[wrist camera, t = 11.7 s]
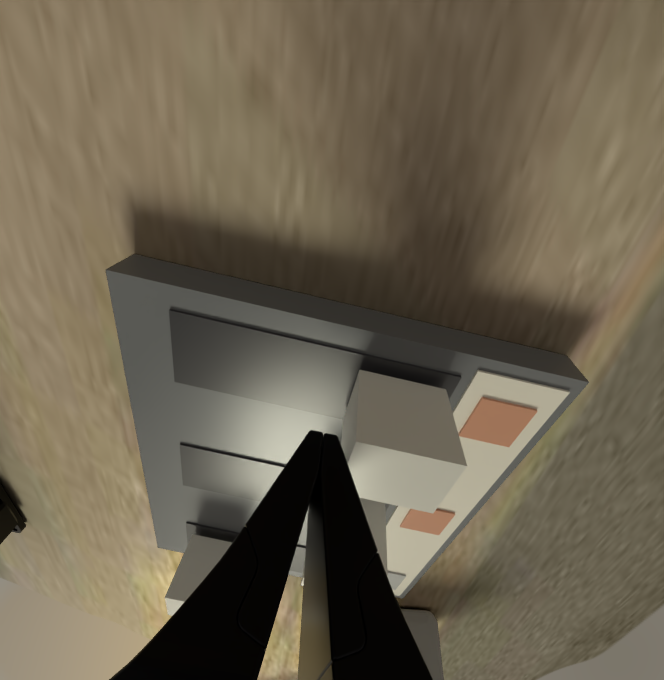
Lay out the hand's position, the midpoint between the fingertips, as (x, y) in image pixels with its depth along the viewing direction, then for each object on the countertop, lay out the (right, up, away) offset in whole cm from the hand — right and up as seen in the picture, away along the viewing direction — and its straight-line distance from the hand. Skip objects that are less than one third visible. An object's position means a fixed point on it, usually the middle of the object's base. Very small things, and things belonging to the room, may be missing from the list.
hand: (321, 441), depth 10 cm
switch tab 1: (-6, -9, +10) cm, 15 cm away
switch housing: (-1, -3, +7) cm, 8 cm away
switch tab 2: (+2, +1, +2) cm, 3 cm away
